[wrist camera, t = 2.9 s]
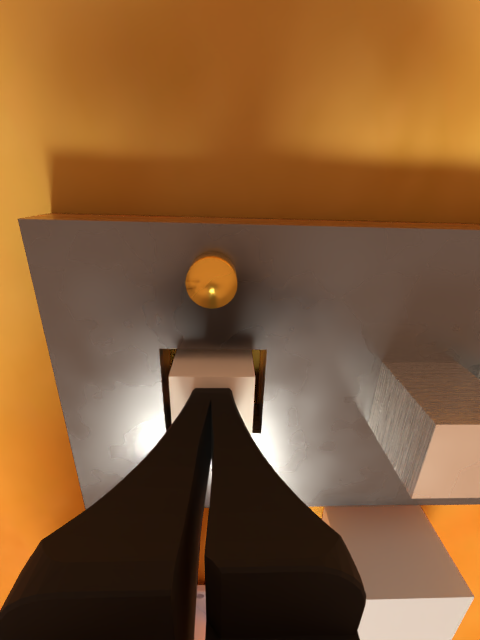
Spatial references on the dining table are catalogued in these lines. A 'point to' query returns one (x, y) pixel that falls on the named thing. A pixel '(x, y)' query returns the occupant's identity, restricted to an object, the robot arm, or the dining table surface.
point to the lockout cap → (401, 572)
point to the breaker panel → (273, 344)
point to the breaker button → (213, 377)
